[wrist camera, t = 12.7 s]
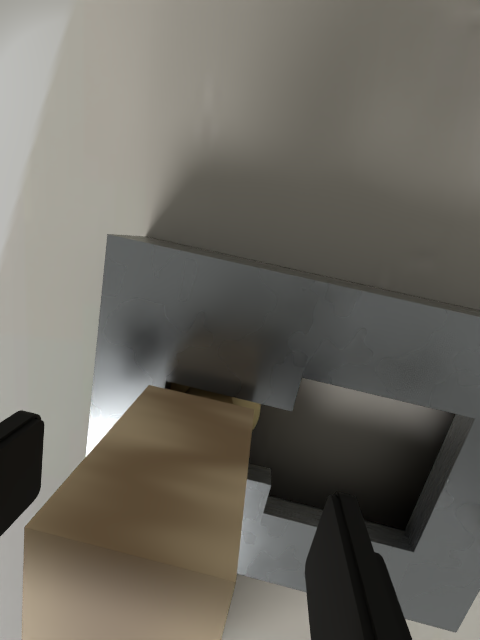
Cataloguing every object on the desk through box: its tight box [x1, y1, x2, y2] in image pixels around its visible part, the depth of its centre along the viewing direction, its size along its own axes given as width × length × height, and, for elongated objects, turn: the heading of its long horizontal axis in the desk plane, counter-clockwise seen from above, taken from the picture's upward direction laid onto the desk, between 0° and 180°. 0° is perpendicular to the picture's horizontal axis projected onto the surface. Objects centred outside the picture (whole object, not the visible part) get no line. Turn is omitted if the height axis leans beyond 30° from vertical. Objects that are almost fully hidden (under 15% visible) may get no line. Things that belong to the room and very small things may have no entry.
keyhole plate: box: [86, 234, 480, 632], centre depth 14 cm, size 18×14×4 cm
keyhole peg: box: [22, 382, 261, 640], centre depth 11 cm, size 5×5×10 cm
